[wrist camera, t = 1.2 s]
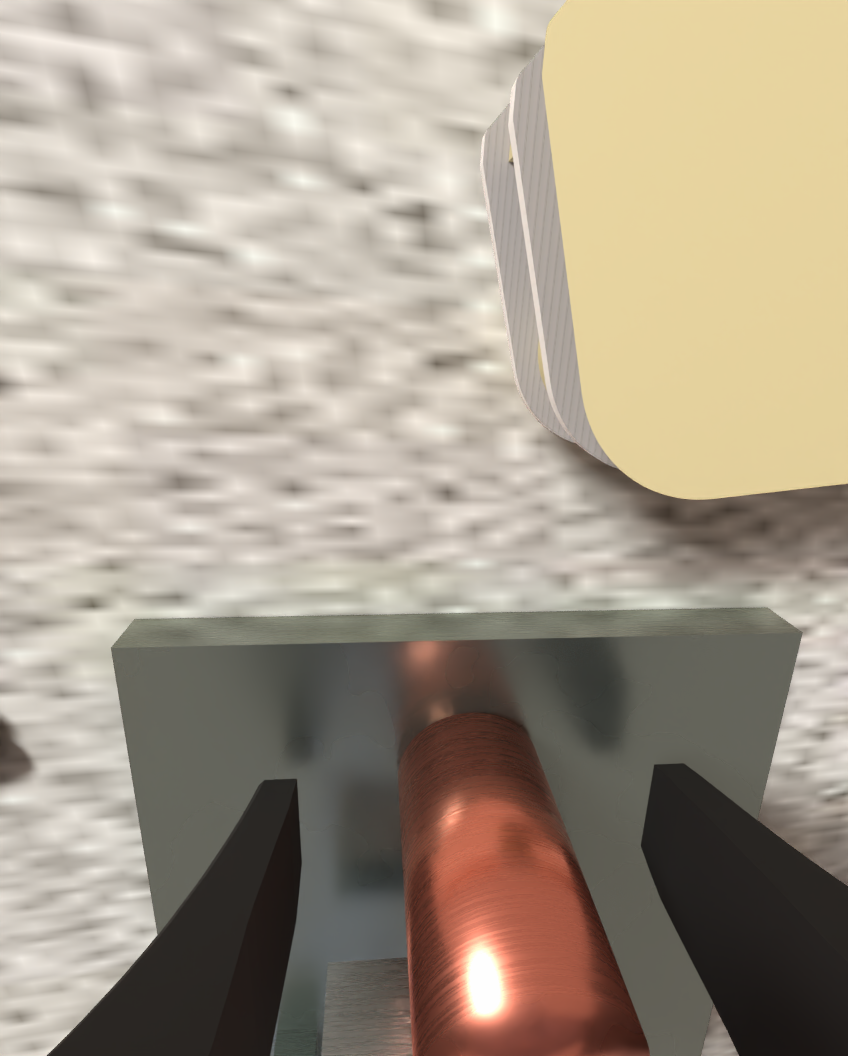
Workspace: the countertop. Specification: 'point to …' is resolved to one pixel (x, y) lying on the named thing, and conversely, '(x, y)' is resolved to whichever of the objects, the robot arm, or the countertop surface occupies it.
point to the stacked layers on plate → (681, 239)
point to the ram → (485, 918)
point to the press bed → (408, 708)
